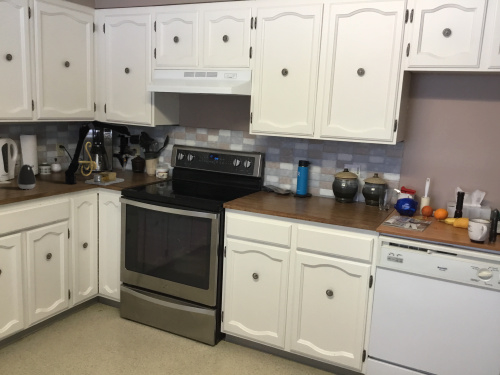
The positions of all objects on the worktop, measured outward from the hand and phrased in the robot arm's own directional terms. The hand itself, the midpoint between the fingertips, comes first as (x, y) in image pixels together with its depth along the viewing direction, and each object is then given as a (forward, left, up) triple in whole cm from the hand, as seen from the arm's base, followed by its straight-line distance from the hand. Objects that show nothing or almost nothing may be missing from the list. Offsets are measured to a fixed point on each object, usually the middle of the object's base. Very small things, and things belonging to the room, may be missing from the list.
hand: (123, 167), depth 311 cm
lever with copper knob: (0, 0, -3) cm, 3 cm away
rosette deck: (0, +15, -12) cm, 19 cm away
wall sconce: (+14, +41, -12) cm, 45 cm away
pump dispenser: (-47, +37, -12) cm, 61 cm away
